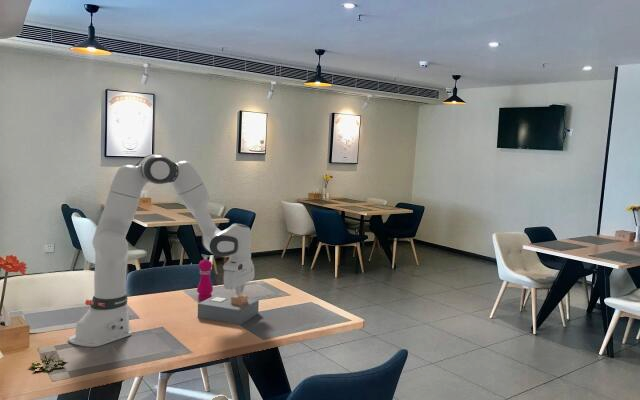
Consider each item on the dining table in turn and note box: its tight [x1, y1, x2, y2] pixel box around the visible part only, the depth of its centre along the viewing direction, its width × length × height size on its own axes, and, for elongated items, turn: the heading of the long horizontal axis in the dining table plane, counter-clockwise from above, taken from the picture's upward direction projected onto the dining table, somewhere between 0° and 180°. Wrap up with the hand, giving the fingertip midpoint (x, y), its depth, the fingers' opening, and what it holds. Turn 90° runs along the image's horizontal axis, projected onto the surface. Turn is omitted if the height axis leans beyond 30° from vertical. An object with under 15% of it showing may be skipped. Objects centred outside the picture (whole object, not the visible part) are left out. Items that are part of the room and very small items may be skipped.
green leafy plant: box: [30, 351, 65, 371], centre depth 163 cm, size 12×12×5 cm
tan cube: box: [231, 294, 249, 306], centre depth 215 cm, size 5×5×5 cm
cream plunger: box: [210, 297, 227, 303], centre depth 219 cm, size 5×5×5 cm
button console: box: [197, 293, 260, 325], centre depth 217 cm, size 16×20×6 cm
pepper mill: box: [196, 256, 214, 301], centre depth 239 cm, size 7×7×20 cm
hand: (239, 294), depth 215 cm, fingers closed
